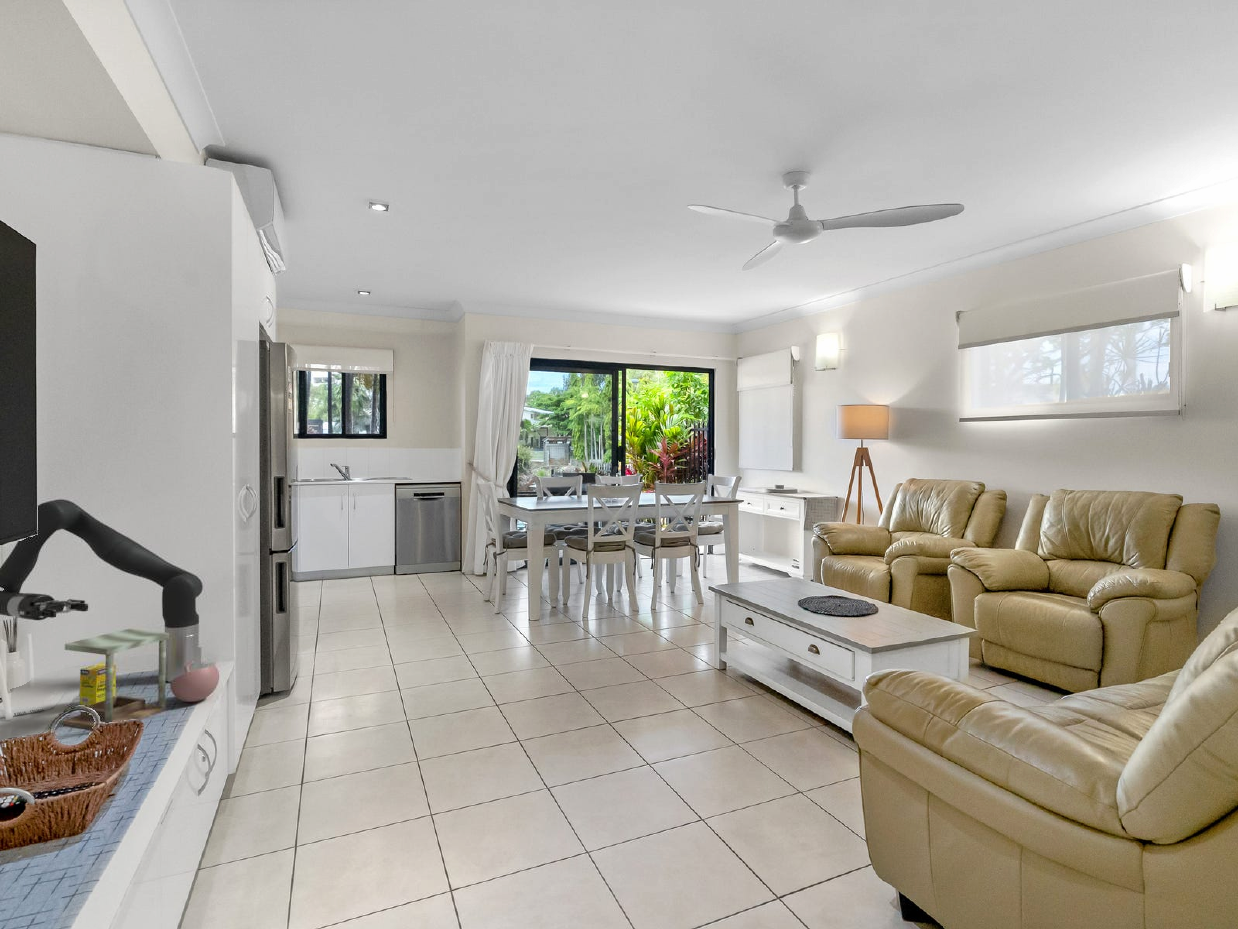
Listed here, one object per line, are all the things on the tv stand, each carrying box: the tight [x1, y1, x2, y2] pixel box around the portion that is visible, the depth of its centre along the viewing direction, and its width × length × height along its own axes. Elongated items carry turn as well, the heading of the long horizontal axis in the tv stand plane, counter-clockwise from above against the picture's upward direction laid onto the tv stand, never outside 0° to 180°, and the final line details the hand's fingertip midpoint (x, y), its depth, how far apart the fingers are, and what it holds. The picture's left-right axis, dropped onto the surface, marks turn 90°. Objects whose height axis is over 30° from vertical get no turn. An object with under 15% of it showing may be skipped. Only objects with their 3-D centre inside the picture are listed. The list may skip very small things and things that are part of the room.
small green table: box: [62, 628, 169, 730], centre depth 178 cm, size 17×16×22 cm
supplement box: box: [79, 662, 117, 706], centre depth 186 cm, size 6×6×11 cm
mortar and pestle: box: [169, 661, 220, 703], centre depth 191 cm, size 12×12×12 cm
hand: (71, 610), depth 189 cm, fingers open, 8 cm apart
